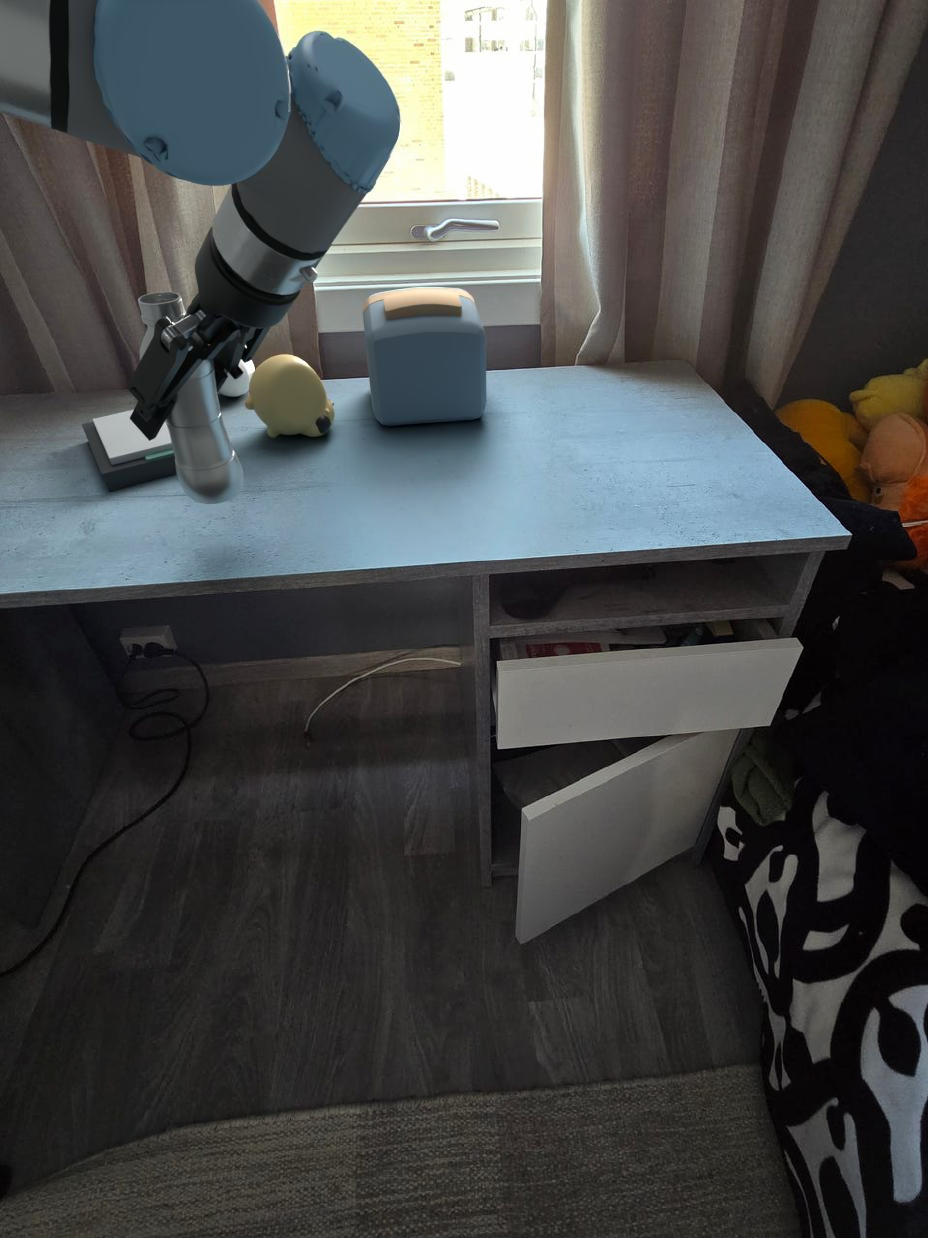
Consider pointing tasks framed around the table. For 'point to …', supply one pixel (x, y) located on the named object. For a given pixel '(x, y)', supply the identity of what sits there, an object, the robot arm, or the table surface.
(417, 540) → the table surface
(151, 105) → the robot arm
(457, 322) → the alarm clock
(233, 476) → the plastic bottle
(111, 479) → the scale
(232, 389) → the white egg
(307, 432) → the yellow round figure
